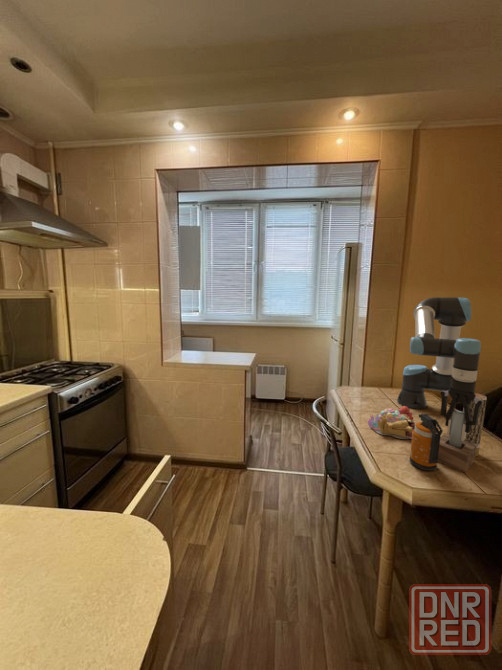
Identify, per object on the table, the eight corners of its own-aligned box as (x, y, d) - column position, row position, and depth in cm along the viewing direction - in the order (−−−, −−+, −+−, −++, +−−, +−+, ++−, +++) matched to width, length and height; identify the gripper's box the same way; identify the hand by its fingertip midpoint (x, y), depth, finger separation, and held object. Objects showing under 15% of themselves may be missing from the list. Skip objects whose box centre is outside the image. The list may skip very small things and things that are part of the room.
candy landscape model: (429, 444, 124) (431, 424, 122) (372, 437, 129) (374, 418, 127) (410, 419, 148) (412, 402, 146) (363, 414, 153) (364, 398, 151)
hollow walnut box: (442, 449, 119) (444, 433, 118) (474, 461, 110) (476, 445, 109) (432, 458, 112) (434, 442, 111) (465, 472, 104) (467, 455, 103)
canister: (426, 457, 113) (431, 410, 110) (446, 475, 102) (452, 424, 99) (404, 458, 112) (409, 411, 109) (422, 476, 102) (428, 424, 98)
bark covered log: (458, 446, 121) (465, 391, 117) (478, 452, 117) (486, 395, 113) (457, 453, 116) (464, 395, 112) (478, 459, 112) (486, 400, 108)
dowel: (450, 446, 113) (454, 409, 111) (461, 451, 110) (467, 412, 108) (446, 450, 111) (451, 412, 108) (458, 454, 108) (463, 415, 105)
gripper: (434, 375, 110) (428, 431, 114) (489, 387, 97) (480, 449, 101) (441, 372, 115) (435, 425, 119) (495, 383, 102) (486, 442, 105)
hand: (456, 436), depth 110 cm, fingers closed on dowel, 4 cm apart
